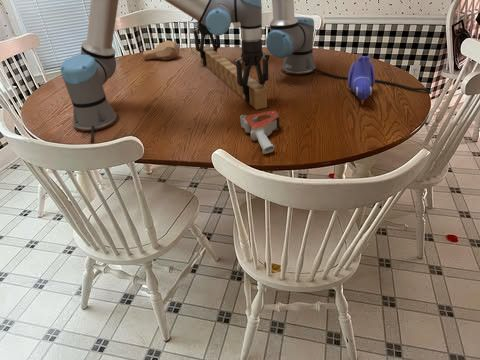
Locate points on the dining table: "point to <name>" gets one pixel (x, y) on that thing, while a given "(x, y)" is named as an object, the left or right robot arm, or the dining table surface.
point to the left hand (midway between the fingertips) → (253, 100)
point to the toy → (361, 78)
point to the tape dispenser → (261, 128)
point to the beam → (235, 78)
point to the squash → (163, 51)
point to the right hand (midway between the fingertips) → (209, 63)
